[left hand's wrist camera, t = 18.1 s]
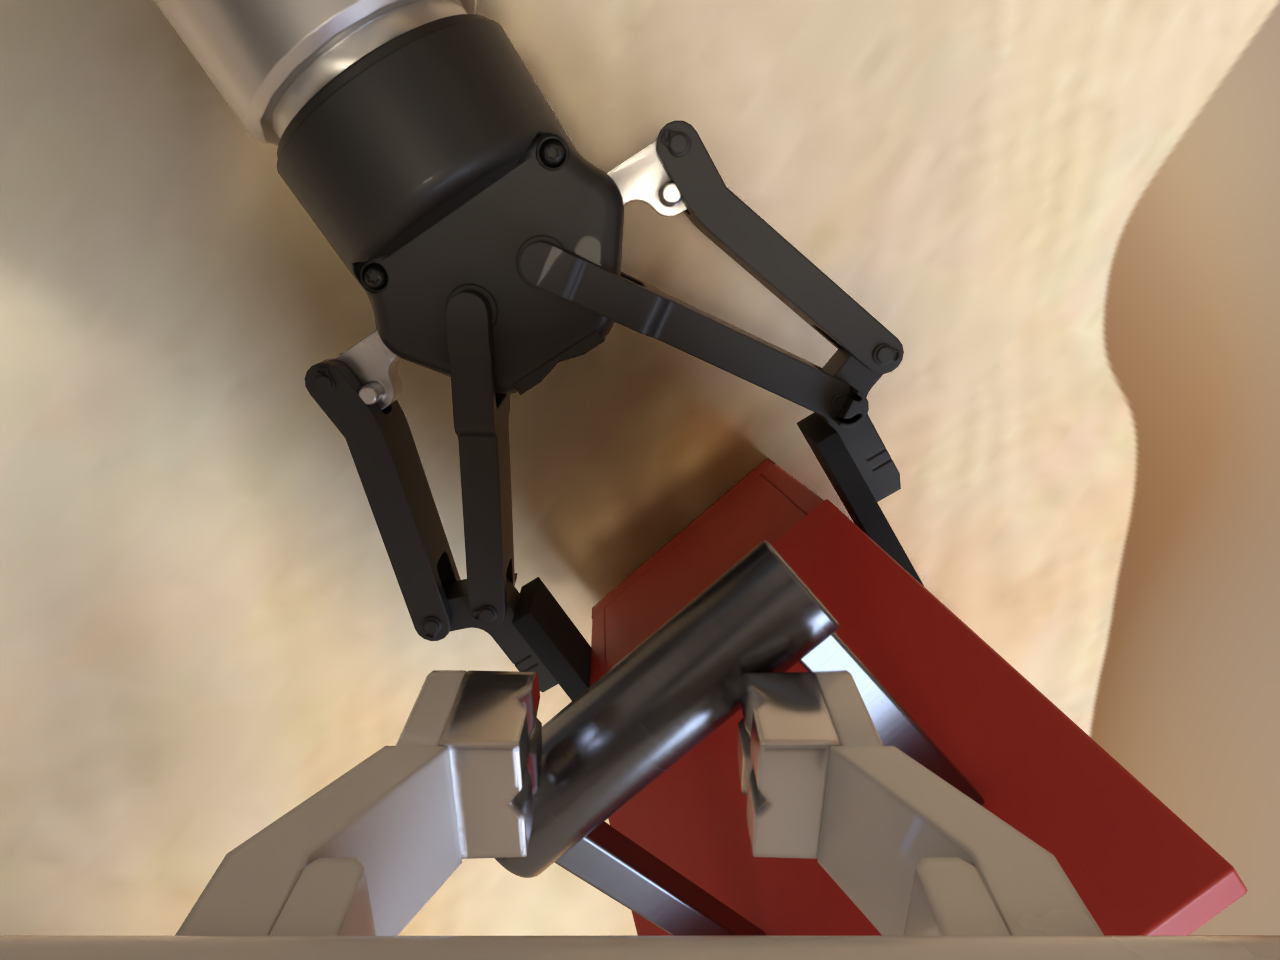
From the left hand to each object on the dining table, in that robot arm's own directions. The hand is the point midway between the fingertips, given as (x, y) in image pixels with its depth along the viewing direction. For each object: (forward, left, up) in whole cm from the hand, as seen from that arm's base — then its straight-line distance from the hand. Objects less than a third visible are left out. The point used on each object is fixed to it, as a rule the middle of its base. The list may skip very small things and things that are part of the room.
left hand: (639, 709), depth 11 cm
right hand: (+1, -9, -15) cm, 17 cm away
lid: (+2, -7, -5) cm, 9 cm away
